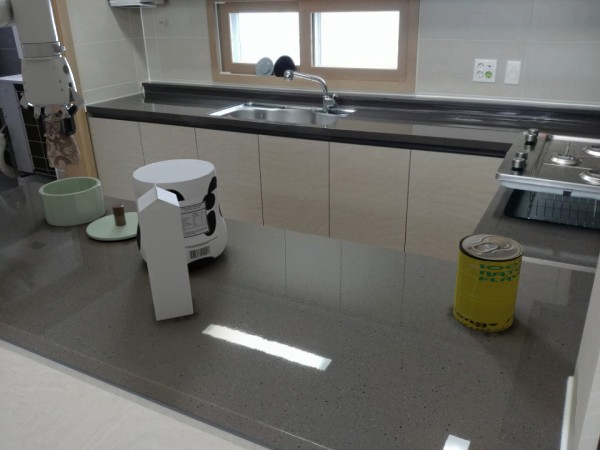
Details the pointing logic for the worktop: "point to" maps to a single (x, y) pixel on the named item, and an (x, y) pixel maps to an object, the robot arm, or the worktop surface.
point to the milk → (165, 253)
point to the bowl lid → (114, 225)
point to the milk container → (188, 205)
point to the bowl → (72, 201)
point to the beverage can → (487, 281)
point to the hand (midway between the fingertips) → (59, 133)
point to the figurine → (60, 143)
